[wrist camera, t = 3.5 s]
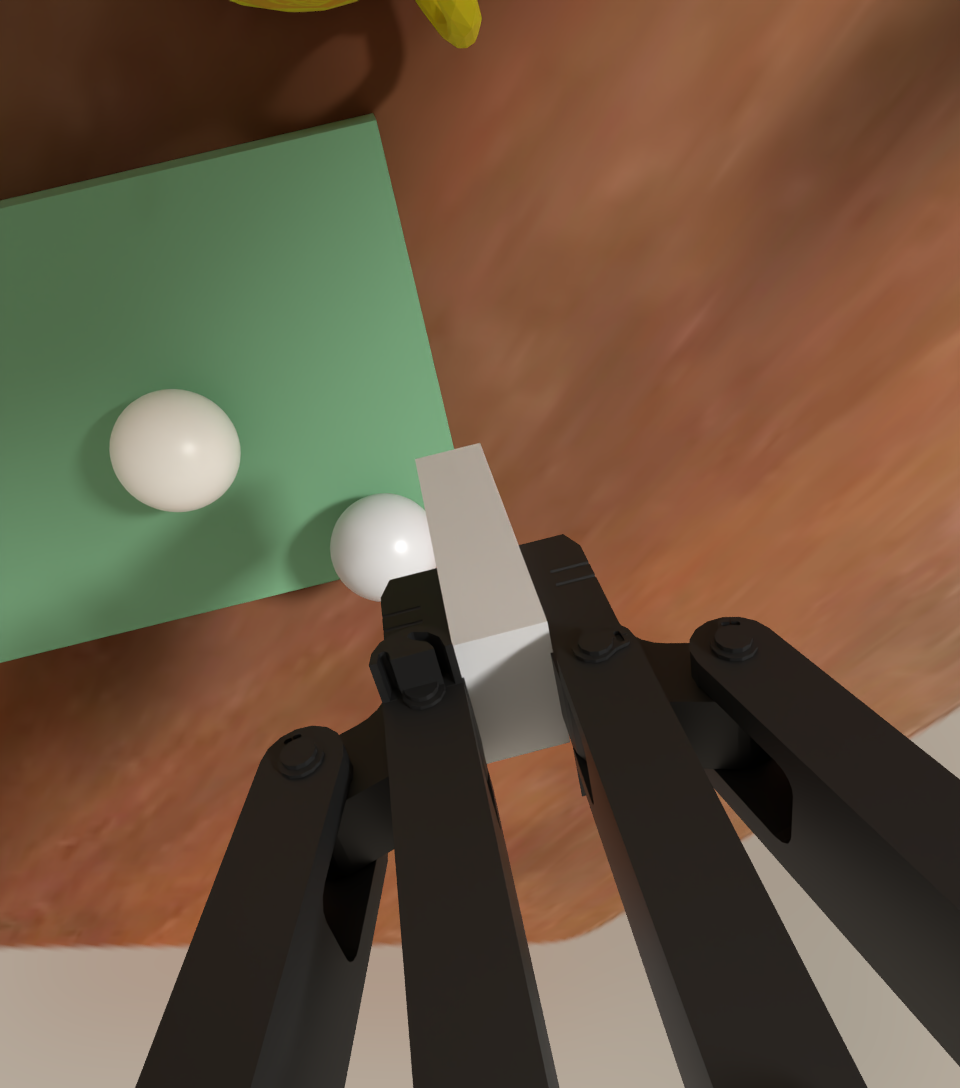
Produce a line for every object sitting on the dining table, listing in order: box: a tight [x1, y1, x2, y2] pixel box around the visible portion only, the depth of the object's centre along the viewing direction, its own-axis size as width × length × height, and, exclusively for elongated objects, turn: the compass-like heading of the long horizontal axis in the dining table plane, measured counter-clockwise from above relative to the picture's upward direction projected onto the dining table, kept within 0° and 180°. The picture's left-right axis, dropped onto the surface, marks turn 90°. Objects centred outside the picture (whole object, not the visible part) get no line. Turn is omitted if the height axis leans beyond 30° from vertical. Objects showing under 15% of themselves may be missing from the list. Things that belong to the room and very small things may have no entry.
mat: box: [0, 113, 454, 663], centre depth 25 cm, size 14×28×4 cm, turn 101°
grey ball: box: [330, 493, 436, 602], centre depth 26 cm, size 4×4×4 cm
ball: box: [109, 389, 241, 512], centre depth 23 cm, size 4×4×4 cm
